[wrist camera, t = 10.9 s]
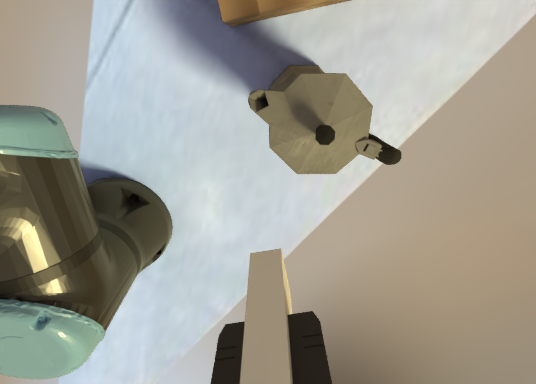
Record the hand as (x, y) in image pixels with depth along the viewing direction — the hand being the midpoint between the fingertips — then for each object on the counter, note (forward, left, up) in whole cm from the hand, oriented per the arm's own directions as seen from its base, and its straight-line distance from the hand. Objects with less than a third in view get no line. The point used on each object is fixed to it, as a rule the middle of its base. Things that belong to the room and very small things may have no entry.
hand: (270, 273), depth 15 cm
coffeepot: (+6, +2, -30) cm, 30 cm away
